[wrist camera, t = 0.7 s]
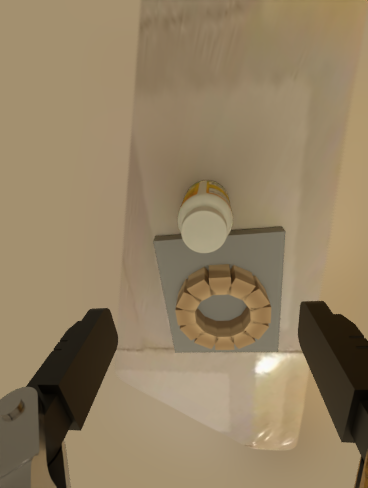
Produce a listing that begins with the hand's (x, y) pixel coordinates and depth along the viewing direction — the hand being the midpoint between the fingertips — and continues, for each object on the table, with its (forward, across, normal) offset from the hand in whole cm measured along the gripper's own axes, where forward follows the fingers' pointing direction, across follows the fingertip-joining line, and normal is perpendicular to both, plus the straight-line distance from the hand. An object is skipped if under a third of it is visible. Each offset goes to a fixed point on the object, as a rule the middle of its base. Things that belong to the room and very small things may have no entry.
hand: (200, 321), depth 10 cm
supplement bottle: (+21, 0, 0) cm, 21 cm away
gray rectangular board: (+21, -1, +14) cm, 25 cm away
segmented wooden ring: (+20, -1, +14) cm, 24 cm away
